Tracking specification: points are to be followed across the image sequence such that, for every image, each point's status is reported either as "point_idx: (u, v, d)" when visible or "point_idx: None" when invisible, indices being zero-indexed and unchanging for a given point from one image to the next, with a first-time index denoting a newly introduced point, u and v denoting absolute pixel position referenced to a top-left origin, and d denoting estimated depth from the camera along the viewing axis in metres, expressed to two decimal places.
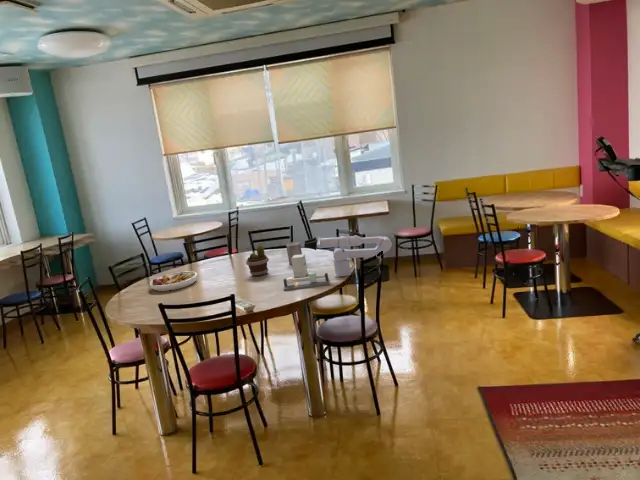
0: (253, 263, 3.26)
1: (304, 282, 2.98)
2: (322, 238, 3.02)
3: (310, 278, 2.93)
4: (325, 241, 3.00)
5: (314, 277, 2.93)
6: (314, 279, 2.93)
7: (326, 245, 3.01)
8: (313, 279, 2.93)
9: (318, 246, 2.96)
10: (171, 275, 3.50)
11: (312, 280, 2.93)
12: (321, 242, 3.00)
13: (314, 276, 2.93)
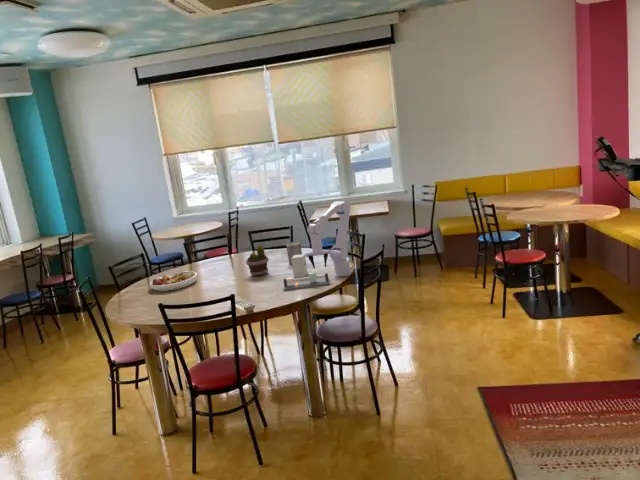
0: (253, 263, 3.26)
1: (304, 282, 2.98)
2: (318, 250, 2.89)
3: (310, 278, 2.93)
4: (321, 246, 2.90)
5: (314, 277, 2.93)
6: (314, 279, 2.93)
7: None
8: (313, 279, 2.93)
9: (330, 251, 2.92)
10: (171, 275, 3.50)
11: (312, 280, 2.93)
12: (321, 250, 2.90)
13: (314, 276, 2.93)
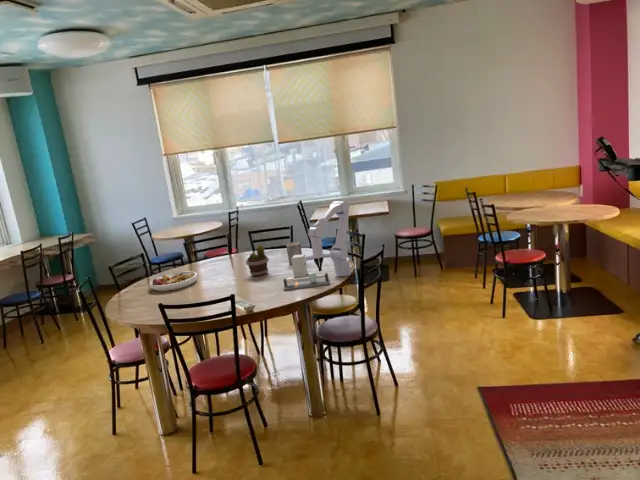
0: (253, 263, 3.26)
1: (304, 282, 2.98)
2: (318, 253, 2.89)
3: (310, 278, 2.93)
4: (321, 249, 2.90)
5: (314, 277, 2.93)
6: (314, 279, 2.93)
7: None
8: (313, 279, 2.93)
9: (331, 255, 2.92)
10: (171, 275, 3.50)
11: (312, 280, 2.93)
12: (322, 253, 2.91)
13: (314, 276, 2.93)
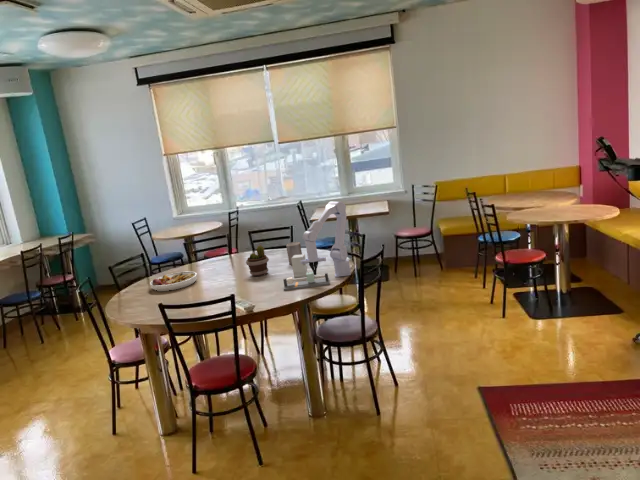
0: (253, 263, 3.26)
1: (304, 282, 2.98)
2: (313, 257, 2.90)
3: (308, 279, 2.93)
4: (316, 253, 2.91)
5: (312, 277, 2.93)
6: (312, 279, 2.93)
7: None
8: (311, 279, 2.93)
9: (325, 258, 2.93)
10: (171, 275, 3.50)
11: (310, 280, 2.93)
12: (317, 257, 2.91)
13: (312, 276, 2.93)
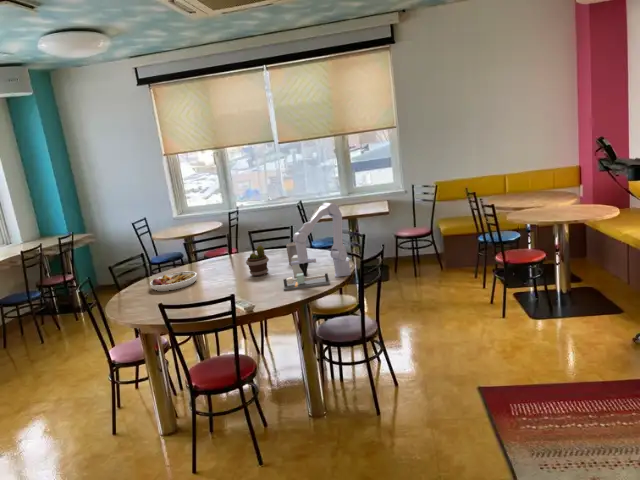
0: (253, 263, 3.26)
1: None
2: (303, 258, 2.90)
3: (298, 280, 2.94)
4: (306, 255, 2.91)
5: (302, 279, 2.93)
6: (302, 281, 2.94)
7: None
8: (301, 280, 2.94)
9: None
10: (171, 275, 3.50)
11: (300, 282, 2.94)
12: (307, 258, 2.92)
13: (302, 278, 2.93)
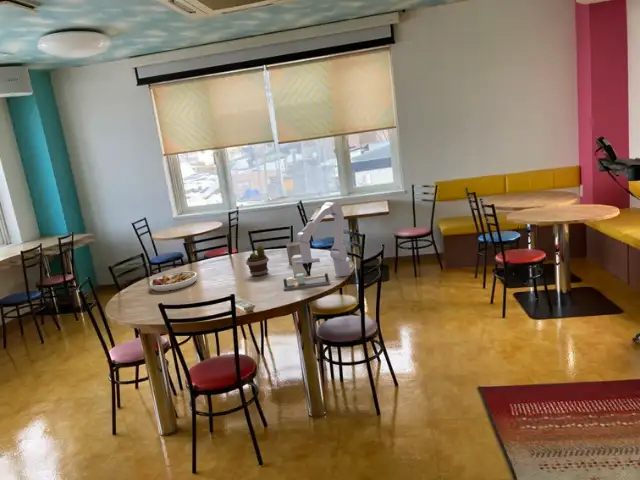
0: (253, 263, 3.26)
1: (304, 282, 2.98)
2: (307, 258, 2.90)
3: (298, 280, 2.94)
4: (310, 254, 2.91)
5: (302, 279, 2.93)
6: (302, 281, 2.94)
7: None
8: (301, 280, 2.94)
9: (319, 259, 2.93)
10: (171, 275, 3.50)
11: (300, 282, 2.94)
12: (311, 258, 2.92)
13: (302, 278, 2.93)
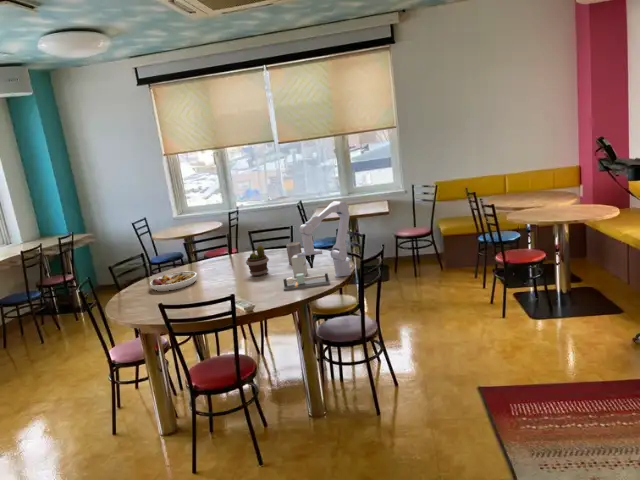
0: (253, 263, 3.26)
1: (304, 282, 2.98)
2: (309, 250, 2.92)
3: (298, 280, 2.94)
4: (312, 246, 2.93)
5: (302, 279, 2.93)
6: (302, 281, 2.94)
7: None
8: (301, 280, 2.94)
9: None
10: (171, 275, 3.50)
11: (300, 282, 2.94)
12: (313, 250, 2.93)
13: (302, 278, 2.93)
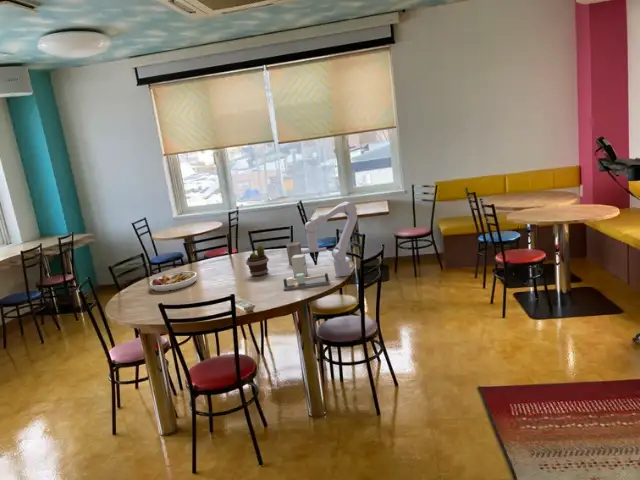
0: (253, 263, 3.26)
1: (304, 282, 2.98)
2: (313, 247, 2.97)
3: (298, 280, 2.94)
4: (317, 243, 2.98)
5: (302, 279, 2.93)
6: (302, 281, 2.94)
7: None
8: (301, 280, 2.94)
9: None
10: (171, 275, 3.50)
11: (300, 282, 2.94)
12: (317, 247, 2.98)
13: (302, 278, 2.93)
